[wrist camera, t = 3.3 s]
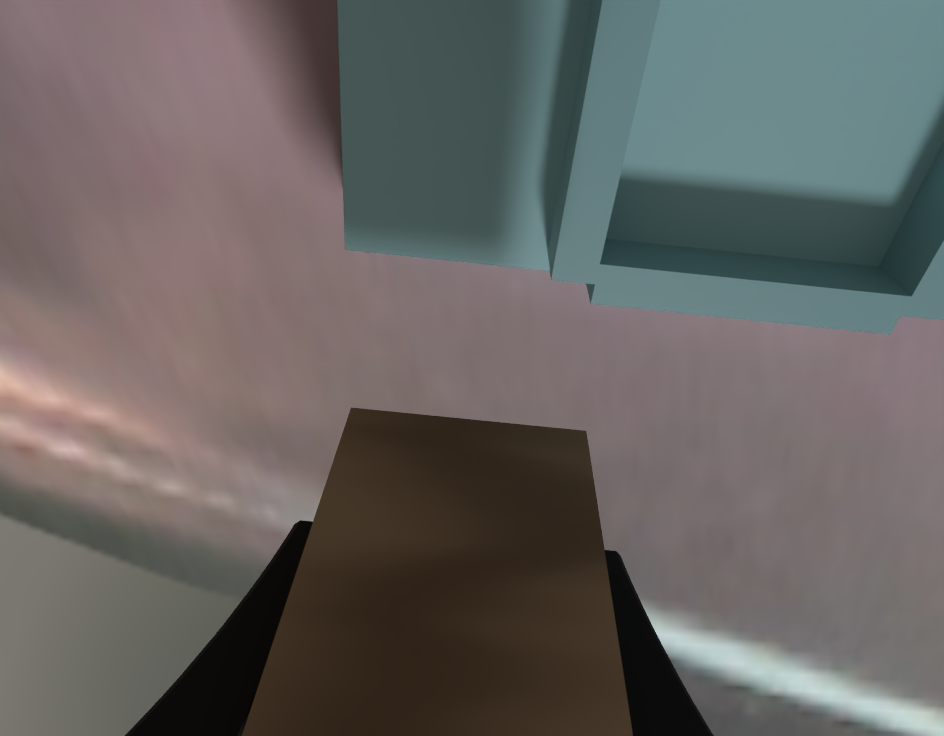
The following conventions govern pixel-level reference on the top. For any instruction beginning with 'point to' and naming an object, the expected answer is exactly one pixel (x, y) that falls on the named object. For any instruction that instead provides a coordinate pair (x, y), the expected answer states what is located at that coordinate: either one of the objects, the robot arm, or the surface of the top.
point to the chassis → (658, 149)
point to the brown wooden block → (449, 590)
